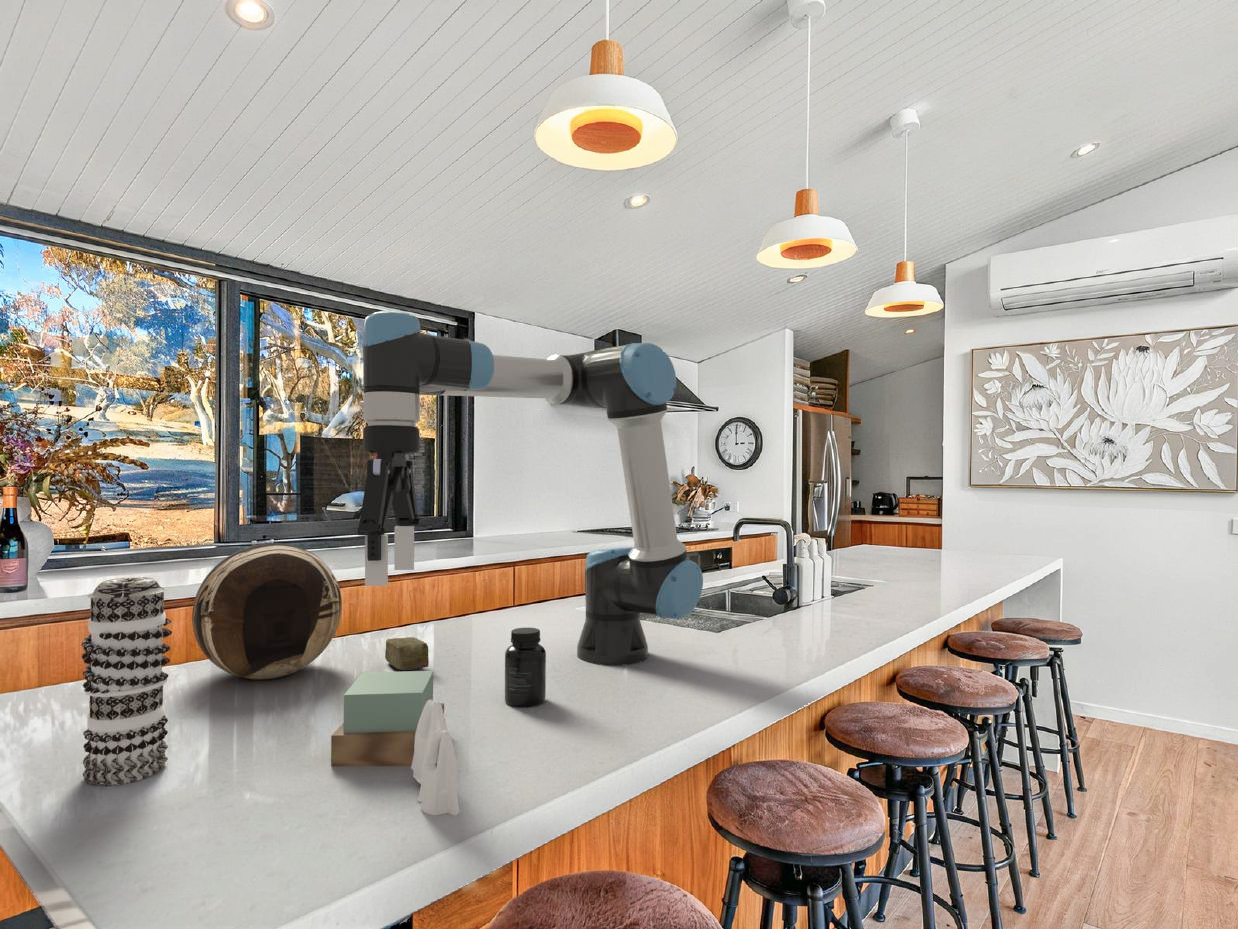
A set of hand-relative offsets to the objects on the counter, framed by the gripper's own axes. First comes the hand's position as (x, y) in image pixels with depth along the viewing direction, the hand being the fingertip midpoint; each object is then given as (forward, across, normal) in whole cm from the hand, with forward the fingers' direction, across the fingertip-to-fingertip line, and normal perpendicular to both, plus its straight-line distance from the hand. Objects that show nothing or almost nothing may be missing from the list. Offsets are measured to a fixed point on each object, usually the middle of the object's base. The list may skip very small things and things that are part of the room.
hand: (391, 577), depth 97 cm
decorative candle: (+24, +9, -30) cm, 39 cm away
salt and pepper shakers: (+24, +15, +9) cm, 30 cm away
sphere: (+24, -35, -32) cm, 53 cm away
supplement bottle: (+24, -19, +17) cm, 35 cm away
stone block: (+25, -36, -6) cm, 45 cm away
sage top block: (+19, +1, 0) cm, 19 cm away
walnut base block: (+24, +1, 0) cm, 24 cm away
